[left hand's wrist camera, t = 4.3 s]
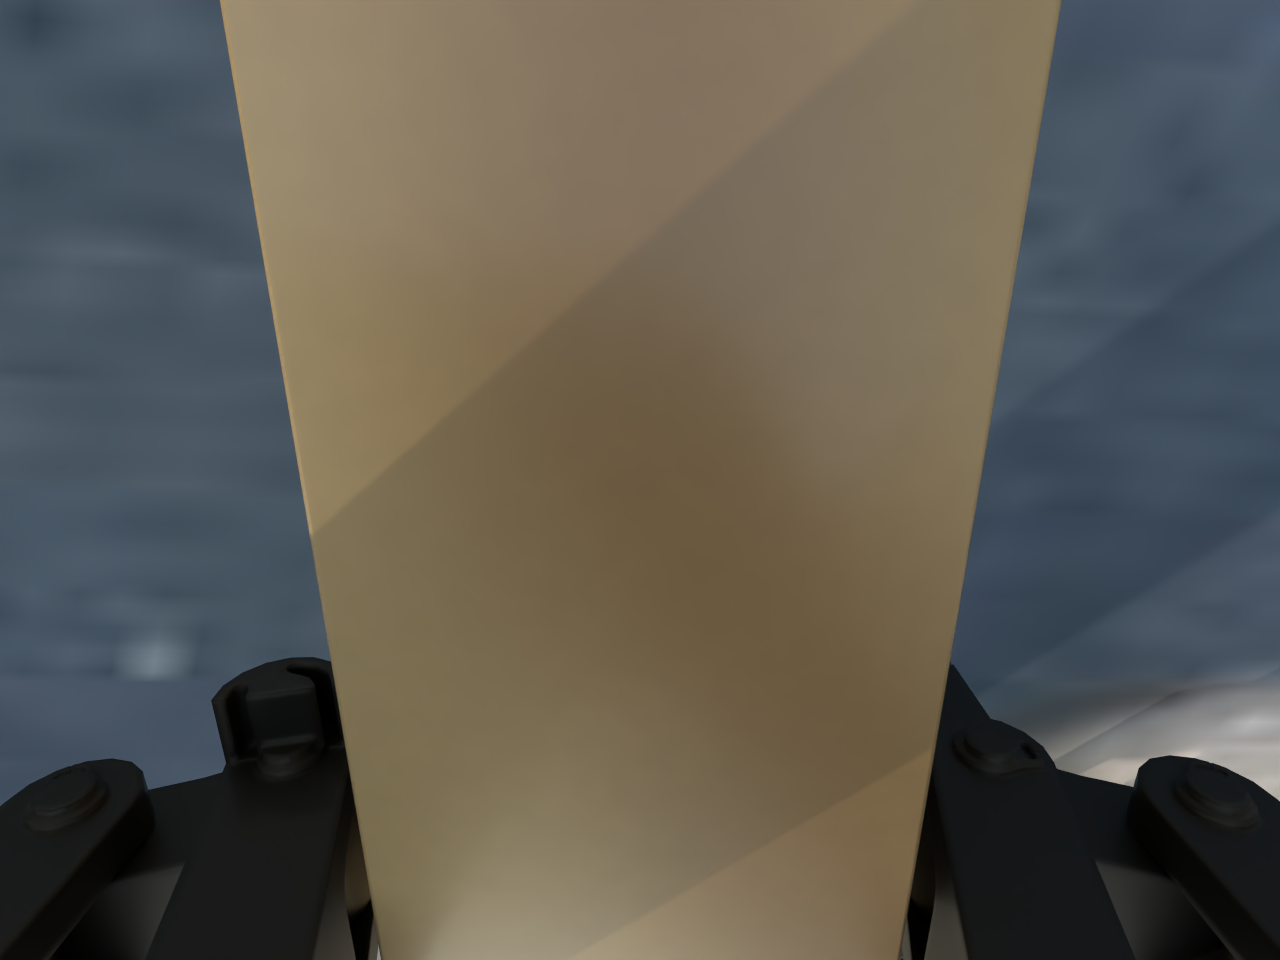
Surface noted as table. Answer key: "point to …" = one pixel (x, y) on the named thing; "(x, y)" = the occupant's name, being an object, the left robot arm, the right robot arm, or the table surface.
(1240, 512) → the table surface
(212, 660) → the table surface
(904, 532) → the birch plank
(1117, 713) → the table surface
